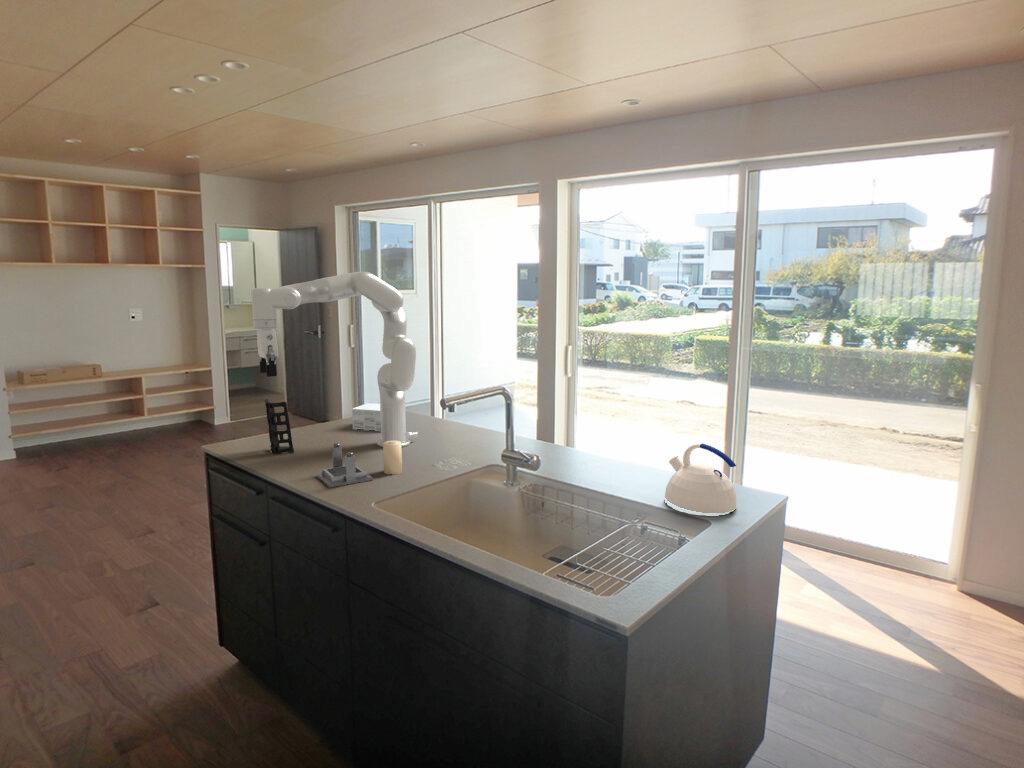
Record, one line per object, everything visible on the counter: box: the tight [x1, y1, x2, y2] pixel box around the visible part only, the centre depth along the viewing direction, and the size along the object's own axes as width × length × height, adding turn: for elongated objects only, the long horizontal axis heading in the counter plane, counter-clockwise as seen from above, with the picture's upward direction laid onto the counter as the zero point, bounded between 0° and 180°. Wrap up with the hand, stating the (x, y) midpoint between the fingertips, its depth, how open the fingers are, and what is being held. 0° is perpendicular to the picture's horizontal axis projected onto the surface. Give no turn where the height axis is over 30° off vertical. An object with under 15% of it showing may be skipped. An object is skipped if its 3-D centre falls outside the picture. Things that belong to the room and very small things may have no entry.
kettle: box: [664, 443, 737, 513], centre depth 183 cm, size 20×21×18 cm
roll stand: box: [315, 442, 374, 489], centre depth 206 cm, size 14×15×10 cm
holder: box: [264, 398, 295, 455], centre depth 235 cm, size 11×8×20 cm
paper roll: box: [382, 441, 403, 475], centre depth 213 cm, size 6×6×10 cm
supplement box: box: [351, 402, 381, 432], centre depth 276 cm, size 17×13×9 cm
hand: (268, 374), depth 219 cm, fingers open, 9 cm apart
